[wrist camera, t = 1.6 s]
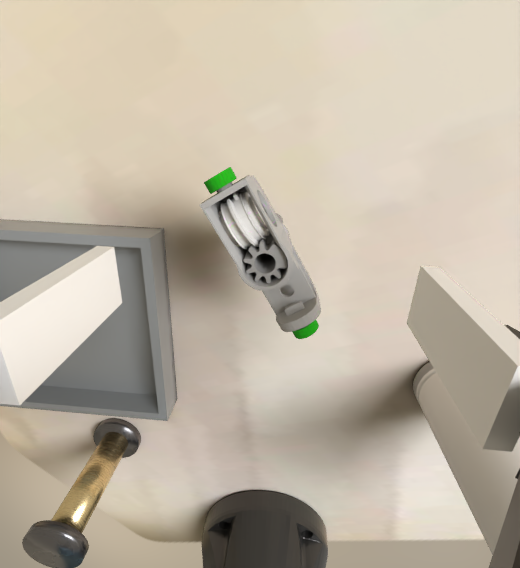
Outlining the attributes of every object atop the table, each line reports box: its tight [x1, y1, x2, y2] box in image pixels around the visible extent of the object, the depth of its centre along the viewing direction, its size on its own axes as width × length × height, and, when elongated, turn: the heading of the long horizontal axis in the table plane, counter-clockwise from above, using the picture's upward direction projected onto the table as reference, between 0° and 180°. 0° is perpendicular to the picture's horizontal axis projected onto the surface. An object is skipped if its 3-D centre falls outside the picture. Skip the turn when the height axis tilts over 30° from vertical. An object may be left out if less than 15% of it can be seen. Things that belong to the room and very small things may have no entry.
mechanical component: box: [200, 167, 321, 339], centre depth 23 cm, size 3×10×10 cm, turn 29°
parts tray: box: [0, 219, 177, 421], centre depth 31 cm, size 18×18×3 cm
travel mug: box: [413, 362, 520, 554], centre depth 23 cm, size 6×7×20 cm
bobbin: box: [22, 418, 141, 568], centre depth 33 cm, size 5×5×12 cm
